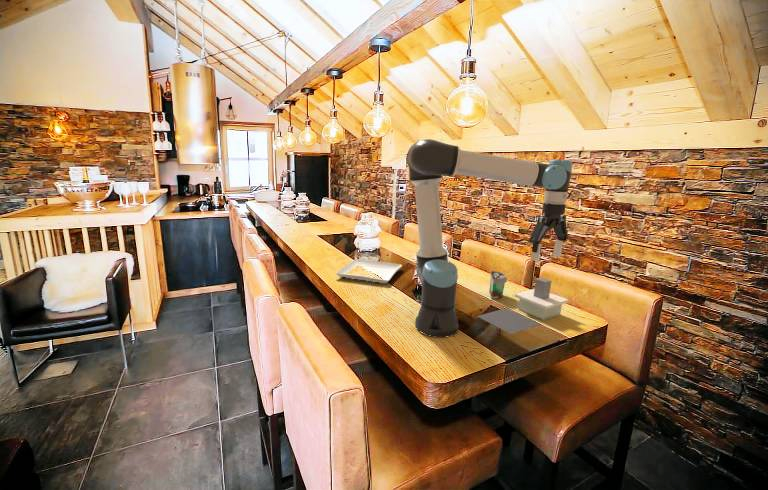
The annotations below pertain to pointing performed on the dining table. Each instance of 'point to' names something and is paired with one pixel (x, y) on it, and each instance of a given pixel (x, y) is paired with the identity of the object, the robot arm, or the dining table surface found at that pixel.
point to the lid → (542, 295)
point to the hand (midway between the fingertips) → (545, 258)
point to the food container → (497, 284)
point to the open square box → (539, 310)
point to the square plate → (376, 267)
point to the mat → (508, 320)
